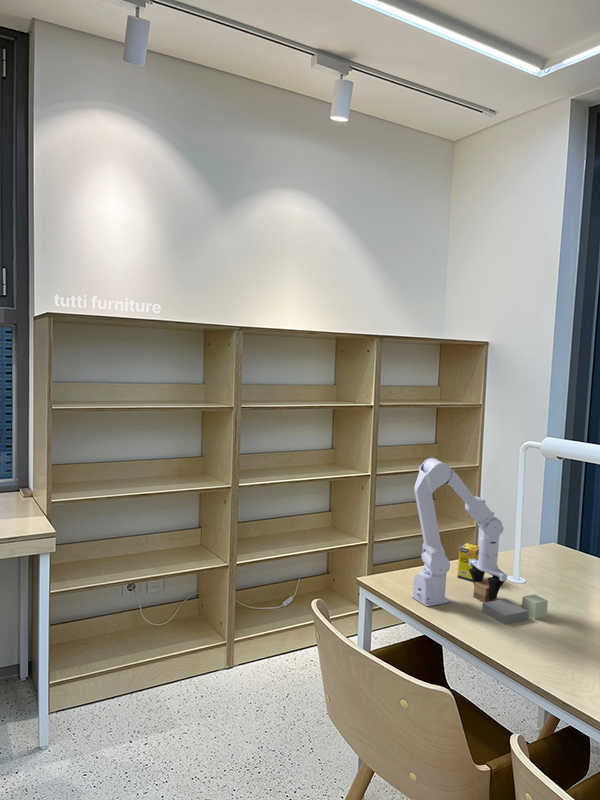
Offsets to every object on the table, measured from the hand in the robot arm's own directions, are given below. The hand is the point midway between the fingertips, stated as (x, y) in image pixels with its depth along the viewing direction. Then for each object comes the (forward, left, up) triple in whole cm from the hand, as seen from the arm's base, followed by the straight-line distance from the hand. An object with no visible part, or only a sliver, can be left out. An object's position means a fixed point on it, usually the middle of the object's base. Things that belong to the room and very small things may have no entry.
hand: (485, 594), depth 188 cm
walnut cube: (0, 0, -2) cm, 2 cm away
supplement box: (+8, +16, -2) cm, 18 cm away
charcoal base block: (-3, -11, -2) cm, 12 cm away
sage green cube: (+6, -14, -2) cm, 15 cm away
